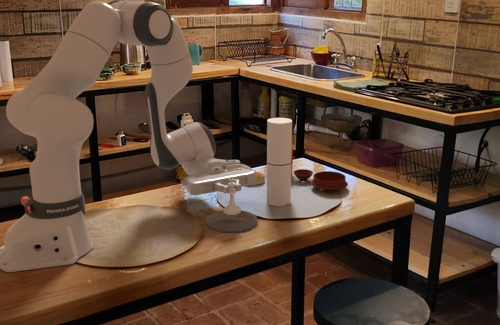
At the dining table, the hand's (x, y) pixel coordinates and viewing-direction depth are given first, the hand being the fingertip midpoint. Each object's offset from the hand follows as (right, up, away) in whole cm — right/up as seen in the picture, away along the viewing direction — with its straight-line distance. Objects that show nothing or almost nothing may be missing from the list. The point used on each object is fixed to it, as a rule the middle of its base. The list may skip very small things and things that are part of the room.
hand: (233, 189), depth 152 cm
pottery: (+27, -1, +32) cm, 41 cm away
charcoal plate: (-1, -9, +4) cm, 10 cm away
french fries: (+16, +3, +43) cm, 46 cm away
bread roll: (+5, +1, +36) cm, 36 cm away
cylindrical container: (+13, -5, +18) cm, 23 cm away
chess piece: (0, -6, +3) cm, 7 cm away
